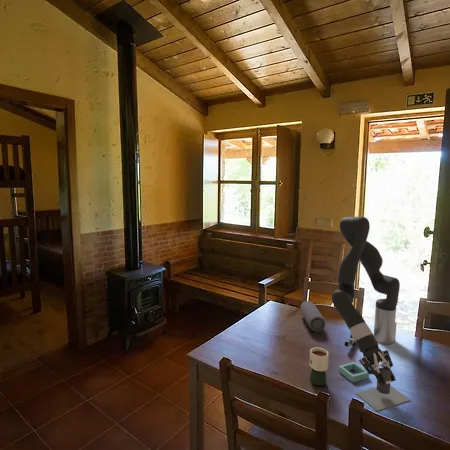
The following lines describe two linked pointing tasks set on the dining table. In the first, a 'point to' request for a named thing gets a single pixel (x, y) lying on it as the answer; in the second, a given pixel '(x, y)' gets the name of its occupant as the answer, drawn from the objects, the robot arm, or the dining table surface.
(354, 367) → the green square frame
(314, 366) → the character mug
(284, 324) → the dining table surface
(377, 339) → the robot arm
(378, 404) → the grey mat
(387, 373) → the dark grey cylinder
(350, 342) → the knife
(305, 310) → the bluetooth speaker
